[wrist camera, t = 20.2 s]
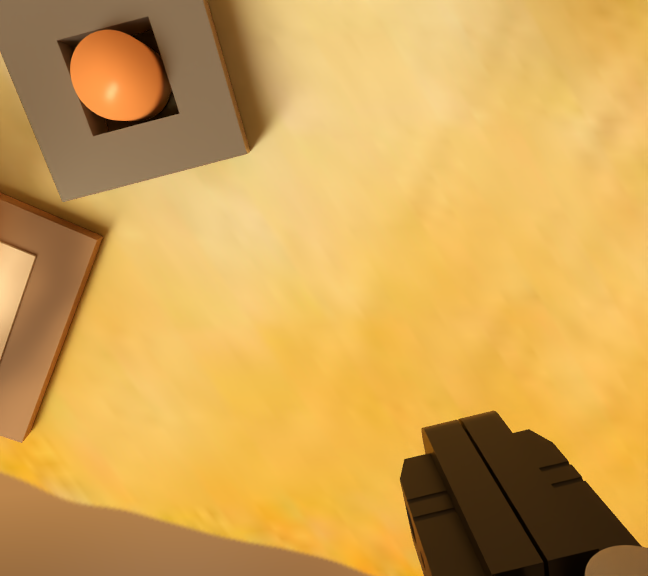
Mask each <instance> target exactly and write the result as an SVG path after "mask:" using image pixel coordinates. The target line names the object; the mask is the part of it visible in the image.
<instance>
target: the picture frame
mask: <svg viewBox="0 0 648 576" xmlns="http://www.w3.org/2000/svg"><path fill="white" fill-rule="evenodd" d="M102 239H103V236H101V235H99V234H97V233H94V232H92V231H90V230H87V229H85V228H83V227H80V226H78V225H75V224H73V223H71V222H68V221H66V220H64V219H61V218H59V217H57V216H54V215H52V214H50V213H47V212H45V211H43V210H40V209H38V208H35V207H33V206H31V205H28V204H26V203H24V202H21V201H19V200H17V199H14V198H12V197H10V196H7V195H5V194H3V193H0V436H3V437H6V438H9V439H12V440H15V441H18V442H21V443H22V442H23V441H24V440H25V438H26V437H27V436H28V435H29V434H30V431H31V429H32V426H33V423H34V421H35V418H36V415H37V413H38V410H39V407H40V405H41V402H42V399H43V397H44V394H45V391H46V389H47V386H48V383H49V381H50V378H51V375H52V373H53V370H54V367H55V365H56V362H57V359H58V356H59V354H60V351H61V348H62V346H63V343H64V340H65V338H66V335H67V332H68V330H69V327H70V324H71V322H72V319H73V316H74V314H75V311H76V308H77V306H78V303H79V300H80V298H81V295H82V292H83V290H84V287H85V284H86V282H87V279H88V276H89V274H90V271H91V268H92V266H93V263H94V260H95V258H96V255H97V252H98V249H99V247H100V244H101V241H102Z"/></svg>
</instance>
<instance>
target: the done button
mask: <svg viewBox="0 0 648 576" xmlns="http://www.w3.org/2000/svg"><path fill="white" fill-rule="evenodd" d="M70 74H71V80H72V84H73V87H74V89H75V91H76V93H77V95H78V97H79V98H80V100H81V101H82V102H83V103H84V104H85V105H86V107H88V108H89V109H90V110H91V111H93V112H94V113H96V114H97V115H99V116H101V117H104V118H107V119H111V120H121V121H143V120H147V119H150V118H152V117H154V116H156V115H157V114H159V113H160V112H161V111H162V110H163V108H164V107H165V105H166V104H167V102H168V99H169V96H170V92H171V85H170V82H169V79H168V76H167V73H166V70H165V67H164V63H163V60H162V58H161V57H160V56H159V55H158V54H157V53H156V52H155V51H154V50H153V49H151V48H150V47H148V46H147V45H145V44H143V43H142V42H140V41H138V40H137V39H135V38H133V37H132V36H130V35H128V34H126V33H123V32H120V31H116V30H101V31H97V32H94V33H91V34H90V35H88V36H86V37H85V38H84V39H83V40H82V41H81V42H80V43H79V44H78V45H77V47H76V49H75V51H74V53H73V55H72V59H71V64H70Z"/></svg>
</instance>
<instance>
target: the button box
mask: <svg viewBox="0 0 648 576" xmlns="http://www.w3.org/2000/svg"><path fill="white" fill-rule="evenodd" d="M151 29H153V32H154V35H155V38H156V42H157V45H158V48H159V51H160V54H161V57H162V60H163V63H164V67H165V70H166V73H167V76H168V79H169V82H170V85H171V88H172V91H173V95H174V98H175V101H176V104H177V107H178V110H179V113H180V114H176V115H172V116H168V117H164V118H161V119H157V120H153V121H149V122H145V123H142V124H138V125H134V126H130V127H126V128H123V129H119V130H115V131H111V132H109V130H108V128H107V125H106V122H105V120H104V117H101V116H99V115H97V114H96V113H94V112H93V111H91V110H90V109H89V108H88V107H86V105H85V104H84V103H83V102H82V101H81V100H80V98H79V97H78V95H77V93H76V91H75V89H74V87H73V84H72V80H71V74H70V64H71V59H72V55H73V53H74V51H75V49H76V47H77V45H78V44H79V43H80V42H81V41H82V40H83V39H84V38H85V37H86V36H88V35H90V34H91V33H94V32H97V31H101V30H116V31H120V32H123V33H126V34H128V35H132V34H136V33H140V32H143V31H147V30H151ZM0 52H1V54H2V57H3V59H4V62H5V64H6V66H7V69H8V71H9V74H10V76H11V78H12V81H13V83H14V86H15V88H16V91H17V93H18V95H19V98H20V100H21V103H22V105H23V108H24V110H25V112H26V115H27V117H28V120H29V122H30V125H31V127H32V129H33V132H34V134H35V137H36V139H37V141H38V144H39V146H40V149H41V151H42V154H43V156H44V158H45V161H46V163H47V166H48V168H49V171H50V173H51V175H52V178H53V180H54V183H55V185H56V188H57V190H58V192H59V195H60V197H61V200H62V202H65V201H69V200H73V199H77V198H80V197H84V196H88V195H92V194H96V193H99V192H103V191H107V190H111V189H115V188H118V187H122V186H126V185H130V184H134V183H138V182H141V181H145V180H149V179H153V178H157V177H160V176H164V175H168V174H172V173H176V172H180V171H183V170H187V169H191V168H195V167H199V166H202V165H206V164H210V163H214V162H218V161H221V160H225V159H229V158H233V157H237V156H241V155H244V154H248V153H249V152H250V148H249V145H248V141H247V138H246V134H245V131H244V127H243V124H242V120H241V117H240V113H239V110H238V106H237V103H236V99H235V96H234V92H233V89H232V85H231V82H230V78H229V75H228V71H227V68H226V64H225V61H224V57H223V54H222V50H221V47H220V43H219V40H218V36H217V33H216V29H215V26H214V22H213V19H212V15H211V12H210V8H209V5H208V1H207V0H0Z"/></svg>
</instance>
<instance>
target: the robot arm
mask: <svg viewBox="0 0 648 576" xmlns="http://www.w3.org/2000/svg"><path fill="white" fill-rule="evenodd" d="M422 438H423V443H424V448H425V455H420V456H416V457H412V458H408V459H404V464H403V468H402V472H401V477H400V482H401V486H402V491H403V496H404V501H405V505H406V510H407V515H408V519H409V524H410V529H411V534H412V538H413V542H414V545H415V548H416V551H417V555H418V558H419V561H420V563H421V567H422V571H423V574H424V576H648V548H645V547H642V546H641V545H640V544H639V543H638V542H637V541H636V539H635V538H634V537H633V536H632V535H631V534H630V532H629V531H628V530H627V529H626V528H625V527H624V525H623V524H622V523H621V522H620V521H619V520H618V518H617V517H616V516H615V515H614V514H613V513H612V511H611V510H610V509H609V508H608V507H607V506H606V504H605V503H604V502H603V501H602V500H601V499H600V497H599V496H598V495H597V494H596V493H595V492H594V490H593V489H592V488H591V487H590V486H589V485H588V483H587V482H586V481H583V479H582V476H581V475H580V474H579V473H578V472H577V471H576V469H575V468H574V467H573V466H572V465H570V464H569V462H568V460H567V459H566V458H565V456H564V455H563V454H562V453H561V452H560V451H559V449H558V448H557V447H556V446H555V445H554V444H553V442H551V441H549V440H547V439H545V438H544V437H542V436H540V435H538V434H536V433H535V432H533V431H531V430H529V429H528V430H524V431H520V432H516V433H512V432H511V430H510V429H509V428H508V426H507V425H506V424H505V422H504V421H503V420H502V418H501V417H500V416H499V414H498V413H497V412H496V411H491V412H486V413H482V414H478V415H474V416H470V417H465V418H461V419H459V420H454V421H449V422H445V423H441V424H437V425H433V426H428V427H424V428H422Z"/></svg>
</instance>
